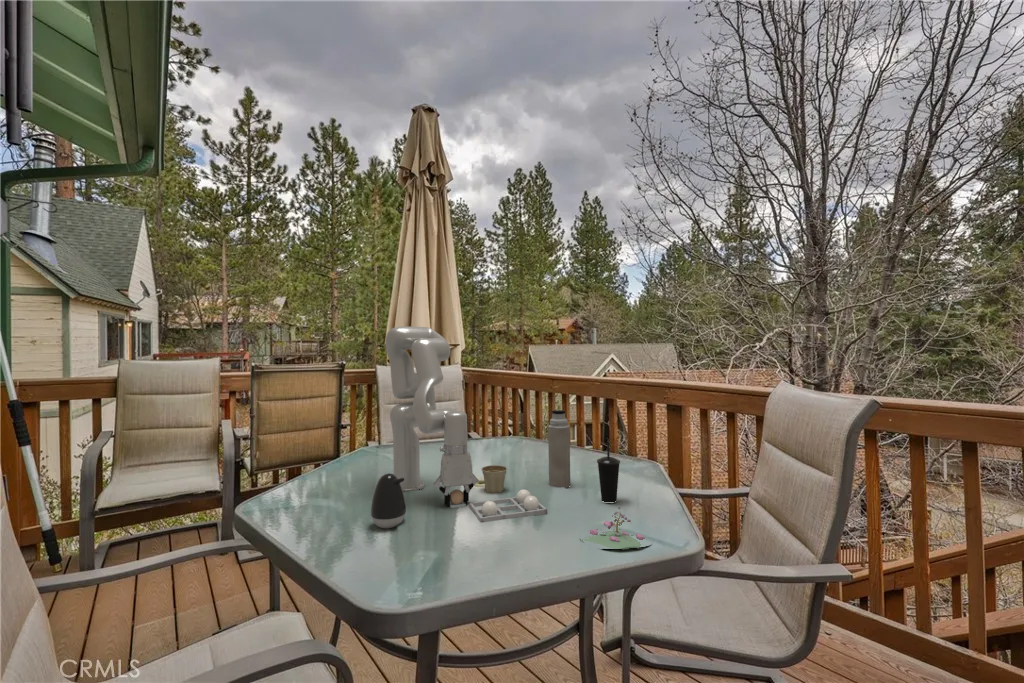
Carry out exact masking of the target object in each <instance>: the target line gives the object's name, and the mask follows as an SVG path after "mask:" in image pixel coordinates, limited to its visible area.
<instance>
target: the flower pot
mask: <svg viewBox="0 0 1024 683" xmlns="http://www.w3.org/2000/svg"><path fill="white" fill-rule="evenodd" d="M480 470H481V472H482V474H483V480H484V481H483V482H484V489H485V492H487V493H490V494H497V493H502V492H504V487H505V479H506V474H507V471H508V467H507V466H504V465H498V464H496V465H495V464H494V465H493V464H492V465H485V466H483V467H481V468H480Z"/></svg>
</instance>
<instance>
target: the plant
mask: <svg viewBox="0 0 1024 683" xmlns="http://www.w3.org/2000/svg"><path fill="white" fill-rule="evenodd" d="M617 509H618V510H621V507H619V506H618V507H617ZM611 516H612V517H613V516H614V517H615V518H617V517H616V516H619V518H617V519H618V520H617V519H615V520H612V521H610V520H606V521H604V522H603V525H605V526H607V528H608V529H610V528H611V527H616V531H615V529H613V531H607V532H606V531H605V532H602V533H603V534H599V535H598V531H597V530H598V529H590V530H589V531H590V534H592V535H593V536H592V537H591V536H589V537H588V538H589V539H582V540H585V541H589V542H593V543H595V544H596V543H597V544H600V545H601V544H602V545H603V546H606V547H609V548H613V549H622V550H630V549H629V548H637V549H639V548H638V547H640V546H641V544H640V542H638V541H637V540H636V539H634V538H632V537H631V536H634V535H631V536H630V535H629V534H628V533H626V532H625V530H622V531H618V526H621V525H622V523H623V522H625V521H624V520H622V521H621V522H619V521H620V520H619V519H620V517H621V518H623V519H625V520H627V522H630V523H632V522H631V519H628V518H627V517H626V515H625V514H622V513H621V512H618V511H615V512H614V515H611ZM616 521H617V522H616ZM618 523H619V524H618ZM620 524H621V525H620ZM619 530H621V529H619ZM604 533H605V534H604ZM594 535H596V536H595V537H594ZM590 537H591V538H590ZM585 538H587V537H585ZM636 538H637V539H639V540H643V539H645V537H644V536H643V535H641V534H639V533H637V534H636Z"/></svg>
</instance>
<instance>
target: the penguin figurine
mask: <svg viewBox="0 0 1024 683" xmlns="http://www.w3.org/2000/svg"><path fill="white" fill-rule="evenodd" d="M403 481H404V478H400V479H398V478H397V477H396V476H395V475H394V473H385V474H383V475H382V476H381V477H380V478H379V480H378V481H377V483H376V486H375V488H374V492H373V495H372V500H371V505H370V517H371V518H372V521H373V523H374V524H375V525H376V526H377V527H378V528H381V529H393V528H396V527H398V525H400V524H401V523H402V522H403V521H404V519H405V517H406V514H407V503H406V497H405V492H403V489H402V487H401V484H400V483H401V482H403Z"/></svg>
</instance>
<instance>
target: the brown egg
mask: <svg viewBox="0 0 1024 683" xmlns="http://www.w3.org/2000/svg"><path fill="white" fill-rule="evenodd" d="M449 495H450V502H451V503H452V504H453V505H456V504H461V503H462V501H463V499H464V494H463V491H462V490H460V489H458V488H457V489H453V490H451V491H450V492H449Z"/></svg>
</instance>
